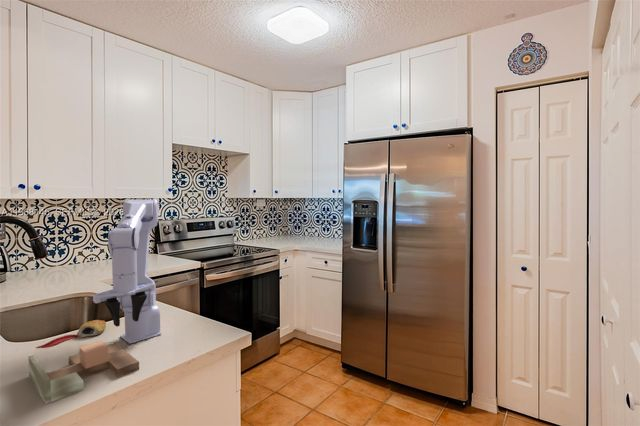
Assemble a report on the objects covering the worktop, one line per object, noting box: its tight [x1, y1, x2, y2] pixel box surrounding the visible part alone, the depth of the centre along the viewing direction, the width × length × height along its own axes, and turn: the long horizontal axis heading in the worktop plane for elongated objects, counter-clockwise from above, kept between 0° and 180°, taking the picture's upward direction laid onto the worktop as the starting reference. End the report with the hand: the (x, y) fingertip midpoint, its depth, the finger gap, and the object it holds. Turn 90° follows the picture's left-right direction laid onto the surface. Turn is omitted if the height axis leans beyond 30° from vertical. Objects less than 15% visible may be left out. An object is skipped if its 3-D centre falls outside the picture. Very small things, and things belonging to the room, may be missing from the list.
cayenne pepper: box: [35, 334, 79, 349], centre depth 103 cm, size 12×5×2 cm, turn 130°
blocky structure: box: [27, 342, 140, 405], centre depth 85 cm, size 19×16×5 cm
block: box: [79, 340, 109, 369], centre depth 87 cm, size 5×4×4 cm
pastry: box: [76, 319, 107, 338], centre depth 111 cm, size 9×7×4 cm
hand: (126, 322), depth 92 cm, fingers open, 4 cm apart
